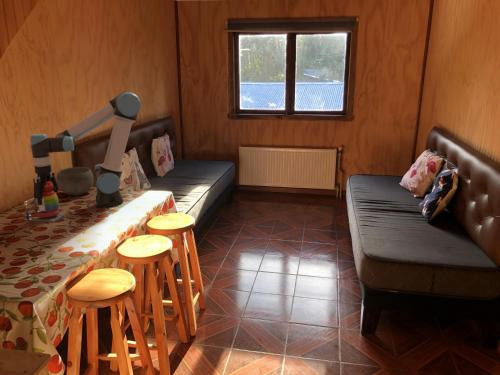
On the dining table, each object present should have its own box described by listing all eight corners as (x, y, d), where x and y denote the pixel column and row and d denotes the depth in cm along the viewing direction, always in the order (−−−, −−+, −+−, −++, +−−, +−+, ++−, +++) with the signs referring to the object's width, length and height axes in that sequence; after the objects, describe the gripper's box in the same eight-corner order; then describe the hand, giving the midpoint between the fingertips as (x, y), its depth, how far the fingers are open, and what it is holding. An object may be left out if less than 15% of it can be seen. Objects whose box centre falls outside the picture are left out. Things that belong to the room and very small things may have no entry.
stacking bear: (46, 210, 225) (41, 178, 220) (64, 210, 224) (60, 178, 219) (34, 217, 215) (29, 183, 210) (53, 217, 214) (48, 183, 209)
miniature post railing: (48, 211, 229) (45, 196, 227) (29, 221, 215) (26, 205, 212) (35, 210, 231) (33, 195, 228) (15, 220, 216) (12, 204, 214)
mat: (67, 214, 224) (67, 213, 224) (53, 222, 213) (53, 221, 213) (47, 213, 227) (46, 212, 226) (32, 220, 215) (32, 219, 215)
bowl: (88, 198, 253) (85, 173, 248) (53, 198, 252) (49, 174, 248) (99, 188, 273) (96, 165, 269) (67, 189, 272) (64, 166, 268)
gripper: (49, 160, 223) (55, 200, 229) (20, 169, 202) (28, 214, 209) (62, 160, 222) (67, 201, 228) (34, 170, 201) (41, 214, 207)
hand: (48, 207), depth 218 cm, fingers open, 9 cm apart
